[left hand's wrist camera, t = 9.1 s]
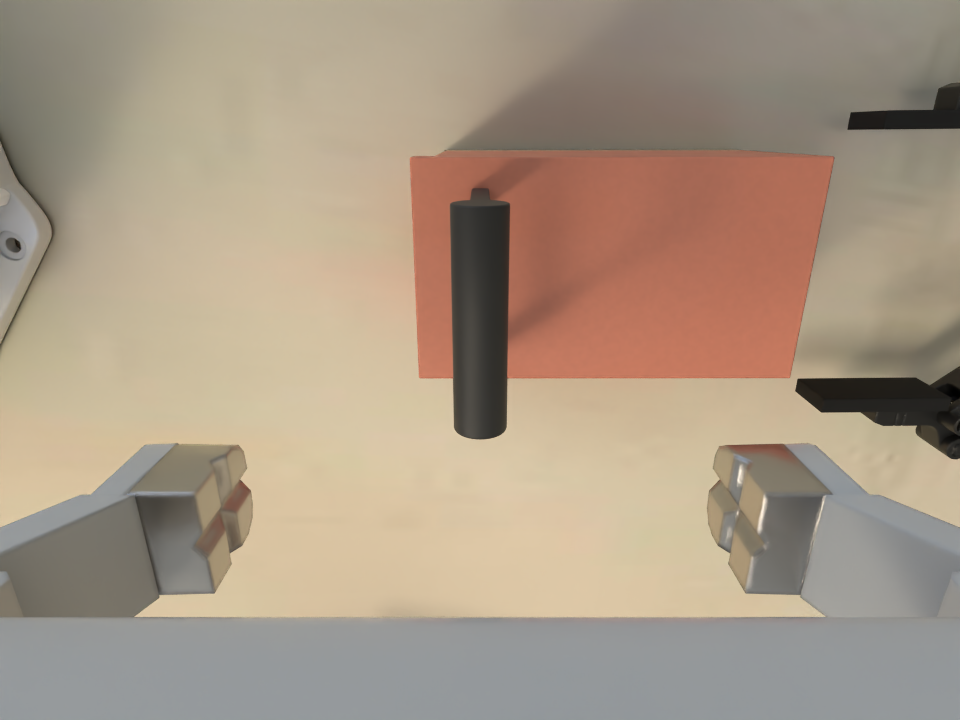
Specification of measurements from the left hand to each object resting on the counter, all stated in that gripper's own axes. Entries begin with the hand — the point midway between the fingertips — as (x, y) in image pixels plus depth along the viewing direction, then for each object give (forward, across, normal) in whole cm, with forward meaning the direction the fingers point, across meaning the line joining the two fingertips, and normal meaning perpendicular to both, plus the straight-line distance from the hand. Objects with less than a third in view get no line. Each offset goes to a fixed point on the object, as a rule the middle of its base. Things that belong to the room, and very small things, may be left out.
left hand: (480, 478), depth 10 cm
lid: (+17, -6, 0) cm, 18 cm away
